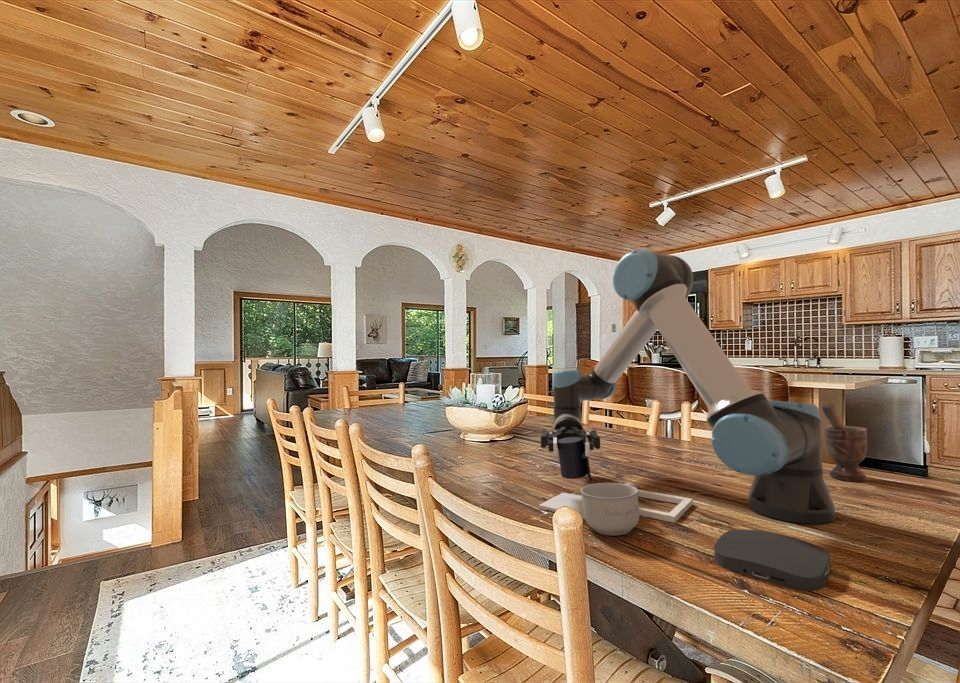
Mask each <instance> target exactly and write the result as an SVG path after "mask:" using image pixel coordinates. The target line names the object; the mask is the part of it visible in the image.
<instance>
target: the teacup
mask: <svg viewBox="0 0 960 683" xmlns="http://www.w3.org/2000/svg"><path fill="white" fill-rule="evenodd" d="M580 494H581V496H582V505H583V513H584V518H585V519H584V520H585V522H586V523H587V525H588V526H589V527H590V528H591V529H593V531H594V532H597V533H598V534H600V535H605V536H615V537H616V536H623V535H626V534H628V533H630V532H631V531H632V530H633V529H634V528H636V526H637V524H638V523H639V519H640V515H639V507H640V505H639V504H640V502H639V496H638V488H637V486H636V484H634V483H633V482H627V483H626V482H625V483H619V482H599V483H598V482H597V483H589V484H587V485H584V486H583V487H581V488H580Z"/></svg>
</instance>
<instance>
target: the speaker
mask: <svg viewBox="0 0 960 683" xmlns="http://www.w3.org/2000/svg"><path fill="white" fill-rule="evenodd" d="M581 435H582V438H579V437H567V438H563V439H559V440H558V441H557V454H558V458H559V459H558V460H559V468H560V474H561V478H563V479H564V478H565V479H566V480H567V479H568V480H571V479H572V480H574V479H575V480H576V479H582V478H584V477H586V478H587V479H588V483H589V484H593V482H592V476H591V474H592V473H591V469H590V468H591V467H590V461H589V457H586V454H585V442H586V438H585V434H584V432H583V431H581Z"/></svg>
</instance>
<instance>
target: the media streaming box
mask: <svg viewBox="0 0 960 683" xmlns="http://www.w3.org/2000/svg"><path fill="white" fill-rule="evenodd" d="M713 548H714V561H715V563H716V564H717V565H718V566H720V567H722V568H724V569H725V570H728V571H731V572H734V573H738V574H741V575H744V576H748V577H751V578H754V579H758V580H762V581H763V582H769V583H772V584H775V585H778V586H782V587H786V588H791V589H794V590H799V591H805V592H806V591H809V592H810V591H811V592H812V591H813V592H814V591H819V590H822V589H823V588H824V587H825V585H826V584H827V581H828V579H829V577H830V573H831V572H830V571H831V566H832V565H831V553H830V552H829V551H828V550H826V549H824V548H822V547H821V546H818V545H817V544H814V543H812V542H809V541H808V540H807V541H806V540H803V539H800V538H797V537H794V536H791V535H790V536H789V535H786V534H781V533H779V532H771V531H767V530H759V529H729V530H727V531H725V532H723V533H722V534H721V535H720V536H719V538H718V539H717V540H716V542H715V544H714V546H713Z"/></svg>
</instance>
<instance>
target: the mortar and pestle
mask: <svg viewBox="0 0 960 683" xmlns="http://www.w3.org/2000/svg"><path fill="white" fill-rule="evenodd" d="M821 410H822V412H823V414H824V416H825V417H826V419H827V420H828V422H829V423H830V425H828V426H827V425H826V426H825V427H824V440H825V446H826V450H827V453H828V455H829V456H830V457H831V458H832V459H833V461H835V463H836V464H835V466H834V467H833V469H832V470H831V471H830V474H829V476H831V477H833V478H834V479H836V480H840V481H844V482H845V481H846V482H854V483H855V482H857V483H858V482H859V483H860V482H866V481H867V475H866V473H865V472H864V471H862V470H861V468H859V464H860V463H861V462H863V461H864V460H865V458H866V455H867V452H868V430H867V427H859V426H852V425H849V426H848V425H843V424H842V421H841V419H840V418H841V417H840V414H839V412H838V409H837V407H836V405H835V404H834V403H831V402H826V403H824V404H822V406H821Z"/></svg>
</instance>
